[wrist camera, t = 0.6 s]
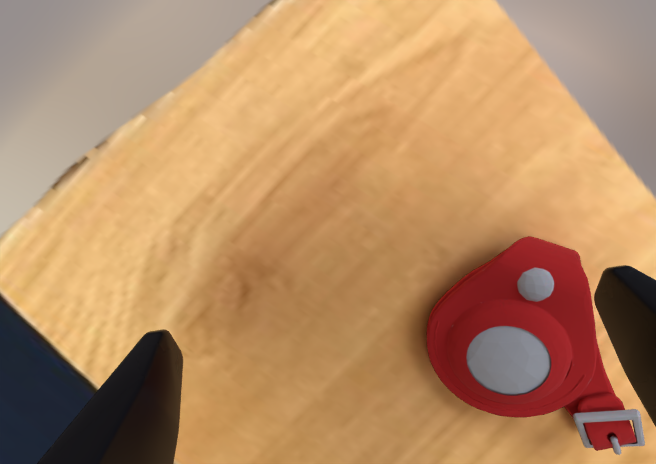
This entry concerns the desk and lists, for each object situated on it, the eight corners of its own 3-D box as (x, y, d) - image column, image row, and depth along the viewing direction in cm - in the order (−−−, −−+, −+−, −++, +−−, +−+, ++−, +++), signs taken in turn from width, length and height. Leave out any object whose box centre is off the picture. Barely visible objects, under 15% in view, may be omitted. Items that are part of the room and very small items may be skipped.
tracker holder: (401, 398, 24) (462, 231, 20) (412, 354, 28) (465, 209, 24) (643, 498, 21) (763, 326, 18) (616, 434, 25) (709, 283, 22)
